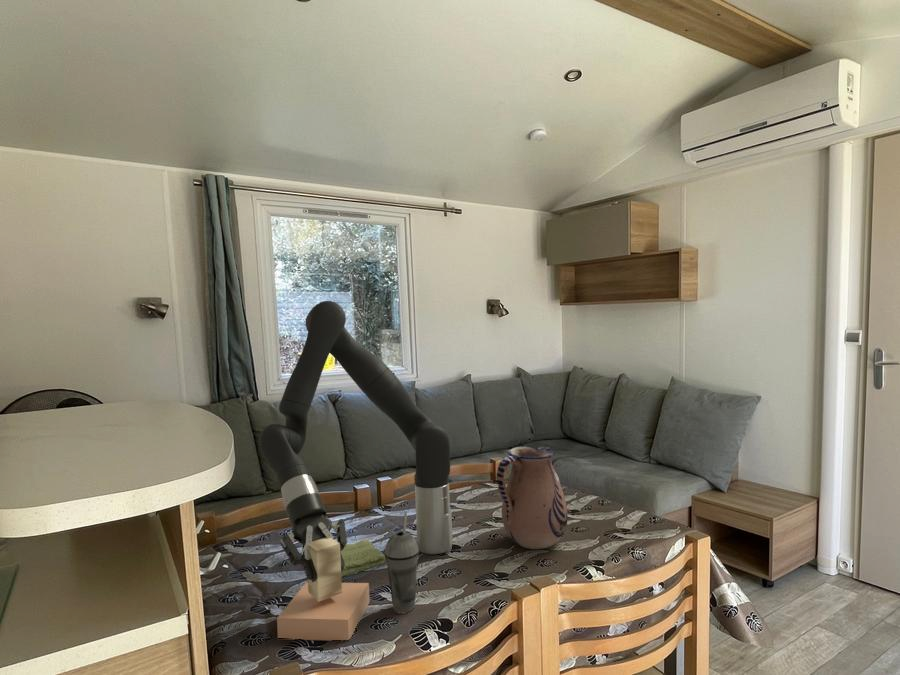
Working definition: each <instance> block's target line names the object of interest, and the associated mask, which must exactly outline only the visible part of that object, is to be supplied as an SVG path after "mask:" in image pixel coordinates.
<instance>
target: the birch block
mask: <svg viewBox="0 0 900 675" xmlns="http://www.w3.org/2000/svg"><path fill="white" fill-rule="evenodd" d="M334 539H335V538H334ZM334 539H332V538H329V539H328V538H323V539H319V540H316V541H312V544H309V551H310V554H311V560H312V561H313V564H314V567H315V570H316V573H317V579H316V581H315V582H312V581H311V580H309V579H308V578H307V582H308V592H309V593H310V594H311V595H312V596H313V597H314V598H315V599H316V600H317V601H318V602H319V601H322V600H325V599H327V598H330V597H333V596H335V595H338V594H341V593H342V583H343V581H342V577H341V556H340V543H338V542H337V540H336V539H335V540H334Z"/></svg>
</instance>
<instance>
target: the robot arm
mask: <svg viewBox="0 0 900 675" xmlns="http://www.w3.org/2000/svg"><path fill="white" fill-rule="evenodd" d="M346 320H347V317H346V313H345V310H344V309H343V307H342V306H341V305H340V304H339V303H338V302H335V301H333V300H324V301H320V302H318V303H317V304H315V305H314V306H313V307H312V308H311V309H310V311H309V312H308V314H307V315H306V318H305V328H306V331H307V337H306V340H305V343H304V346H303V349H302V351H301V353H300V356H299V359H298V360H297V363H296V365H295V367H294V369H293V371H292V373H291V374H290V376H289V379H288V381H287V384H286V386H285V388H284V392H283V394H282V396H281V397H282V398H281V399H280V403H279V405H278V411H279V413H280V414H281V415H282V416H284V417H285V425H282V424H279V423H271V424H268V425H266V426H265V427H264V428H263V429H262V431H261V432H260V435H259V448H260V451H261V453H262V455H263V457H264V458H265V461H266V462H267V463H268V465H269V467H270V468H271V470H272V471H273V472H274V473H275V476H276V479H277V482H278V484H279V485H278V486H279V488H280V491H281V497H282V502H283V506H284V509H285V511H286V513H287V516H288V520H289V524H290V526H291V530H292V531H291V532H290V533H289V534H287V533H286V534H283V536H282V538H281V539H280V542H279V544H280V545H281V547H282V550H283V551H284V552H285V554H286V556H287V557H288V558H289V560H290V562H291V564H292V565H294V566H298V565H302V566H303V567H304V570H305V574H306V577H307V580H308V579H309V580H311V581H312V582H315V581H316V579H317V573H316V570H315V567H314V564H313V561H312V560H311V554H310V551H309V544H312V541H316V540H319V539H323V538H328V539H329V538H332V539H334V540H335V541H337V542H338V543H340V556H341V572H342V571H343V569H344V566H345V562H344V560H343V557H342V554H341V551H342V550H343V549H344V547H345V546H346V545H348V539H347V531H346V524H345V520H344V519H343V518H340V519H339V520H337V521H333V520H331V519H330V518H329V517H328V515H327V511H326V508H325V506H324V505H325V504H324V503H323V500H322V498H321V494H320V491H319V490H318V487H317V484H316V482H315V481H314V479H313V477H312V474H311V471H310V469H309V466H308V463H307V462H306V460H305V459H304V458H303V457H302V456H300V452H301V451H302V450H303V448H304V446H305V442H306V437H307V426H308V415H309V411H310V408H311V405H312V403H313V401H314V398H315V395H316V391H317V389H318V386H319V383H320V380H321V376H322V373H323V371H324V368H325V366H326V362H327V360H328V357H329V355H331V356H332V357H333V358H335V360H336V362H338V363H339V364H340V366H341V367H342V368H343V370H344V371H345V372H346V374H347V375H348V376H349V377H350V379H351V380H353V382H354V383H355V384H356V386H357V387H358V388H359V389H360V390H361V391H362V393H363V394H365V396H366V397H367V399H369V401H370V402H371V403H373V405H375V407H377V408H378V409H379V410H380V411H381V412H383V413H384V414H385V415H386V416H387V417H388V418H390V419H391V420H392V421H393V422H394V423H395V425H397V427H398V429H400V431H402V433H403V434H404V435H405V437H406V438H407V440H408V441H409V443H410V445H411V447H412V448H413V449H414V451H415V472H414V473H415V474H414V495H415V496H414V497H415V498H414V499H415V520H416V521H415V522H416V523H415V524H416V525H415V526H416V542H417V545H418V549H419V553H422V554H426V555H438V554H444V553H450V552H451V550H452V547H453V543H454V540H453V519H452V518H453V516H452V508H451V501H450V479H449V478H450V473H451V447H450V446H451V445H450V437H449V434H448V433H447V431H445V429H444V428H442V427H441V426H440V425H439V424H437V423H435V422H434V421H433V420H432V419H430V418H429V417H428V416H427V415H426V414H425V413H424V412H423V411H422V410H421V409H420V408H419V407H418V406H417V405H416V404H415V402H414V401H413V399H412V398H411V396H410V395H409V393H408V391H407V390H406V388H405V386H404V385H403V384H402V382H401V380H400V379H399V378H398V376H397V375H396V374H395V373H394V372H393V371H392V370H391V369H390V368H389V367H388V366H387V364H386V363H385V362H384V361H382V360H381V359H380V358H379V357H378V356H376V355H375V354H374V353H373V352H371V351H369V350H368V349H366V348H365V347H363V346H362V345H361V344H360V343H359V342H357V340H356V339H355V338H354V337H353V336H352V334H350V332H349V331H348V329H347V328H346V327H345V326H346ZM331 529H333V531H334V533H336V539H335V537H334V535H333V534H332V532H330V531H331ZM295 541H297V542H298V543H300V544H301V553H300V551H299V550H298V548H297V547H296V545H295V544H294V543H295Z"/></svg>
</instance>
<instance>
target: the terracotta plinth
mask: <svg viewBox="0 0 900 675" xmlns="http://www.w3.org/2000/svg"><path fill="white" fill-rule="evenodd" d="M369 604H370V583H369V582H342V593H341V594H338V595H335V596H333V597H330V598H327V599H325V600H322V601H319V602H318V601H317V600H316V599H315V598H314V597H313V596H312V595H311V594H310V593H309V592H308V581H306V582H305V583H304V585H303V586H302V587H301V588H300V589H299V591H298V592H297V593H296V594H295V596H294V597H293V598H292V599H291V600H290V601H289V603H288V604H287V605H286V606H285V608H284V609H283V610H282V611H281V612H280V614H279V615H278V616H277V617H276V625H277V628H276V629H277V639H278V638H289V639H288V640H295V639H302V640H303V639H304V640H305V641H329V642H330V641H332V640H342V641H341V642H344V641H343V640H349V639H350V640H351V638H352V636H353V634H354V633H355V630H356V629H355V628H357V627H358V625H357V624H359V623H358V622H360V621H361V619H362V617H363V615H364V613H365V612H366V609H367V608H368V606H369ZM359 620H360V621H359ZM356 626H357V627H356ZM350 637H351V638H350ZM290 638H291V639H290ZM302 640H301V641H302ZM350 640H349V641H350Z"/></svg>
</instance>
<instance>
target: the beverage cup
mask: <svg viewBox="0 0 900 675" xmlns="http://www.w3.org/2000/svg"><path fill="white" fill-rule="evenodd" d="M403 514H404V515H403V516H404V517H403V527H402V529H403V530H402V531H399V532H395V533H393V534H392V535H391V536H390V537H389V539H388V540H387V542H386V544H385V548H384V553H383V554H384V555H385V558H386V560H385V562H386V565H387V572H388V573H387V574H388V579H389V580H388V581H389V588H390V595H391V603H392V608H393V611H394V610H395V611H397V612H407V611H410V610H412V609H413V608H414V607H416V595H417V592H416V591H417V572H418V571H417V570H418V568H417V567H418V561H419V553H420V551H419V549H418V545H417V539H415V537H414V536H413V535H412V534H410V533H409V532H406V529H407V520H408V519H407V518H408V511H407V510H406V511H405V510H404V513H403ZM414 609H415V608H414ZM414 609H413V610H414ZM413 610H412V611H413ZM395 611H394V612H395ZM397 612H396V613H397Z"/></svg>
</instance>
